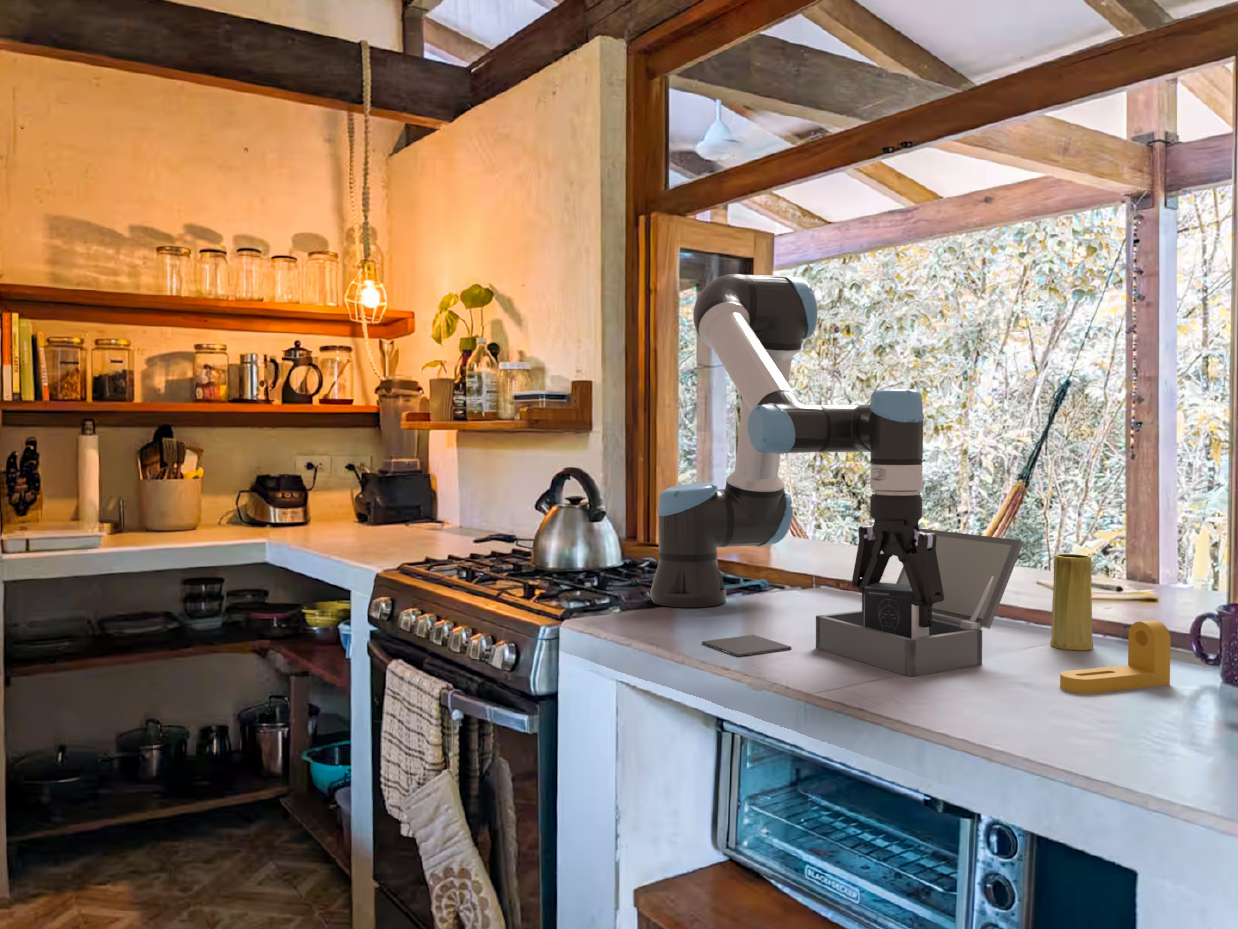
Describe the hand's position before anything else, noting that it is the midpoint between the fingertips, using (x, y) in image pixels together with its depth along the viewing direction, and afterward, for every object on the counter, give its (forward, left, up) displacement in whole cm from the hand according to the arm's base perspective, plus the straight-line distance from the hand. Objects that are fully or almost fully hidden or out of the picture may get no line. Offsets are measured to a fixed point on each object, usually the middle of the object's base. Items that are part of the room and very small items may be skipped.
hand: (895, 641), depth 142 cm
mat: (-16, -16, -2) cm, 23 cm away
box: (0, 0, -2) cm, 2 cm away
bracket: (+26, +13, -3) cm, 29 cm away
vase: (+9, +28, -2) cm, 30 cm away
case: (0, +4, -2) cm, 5 cm away
